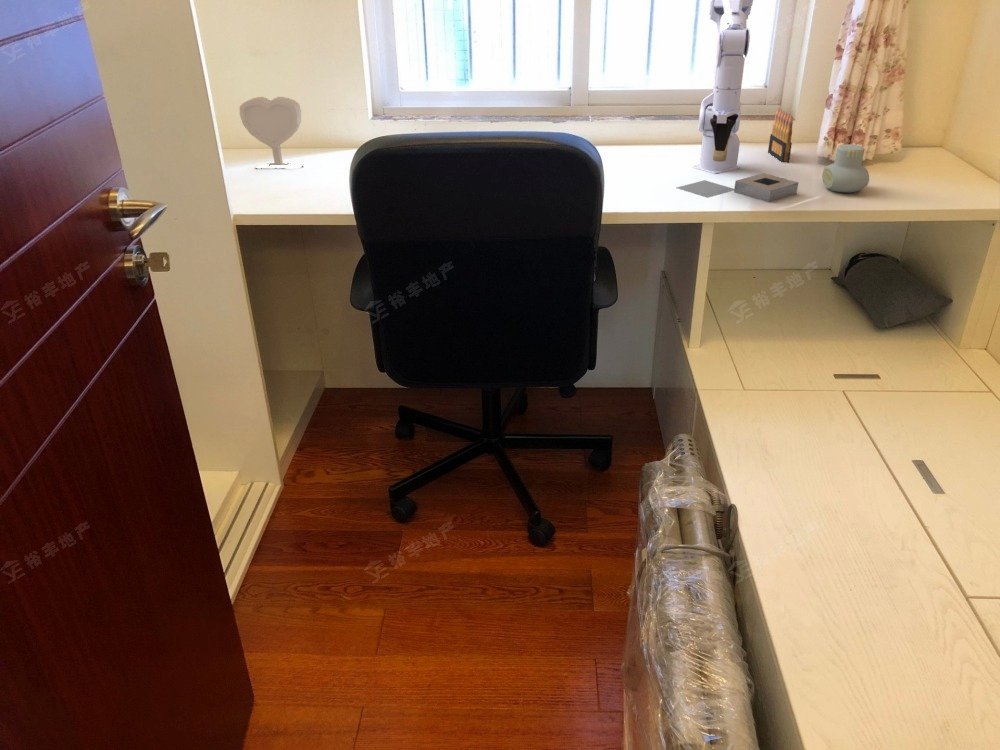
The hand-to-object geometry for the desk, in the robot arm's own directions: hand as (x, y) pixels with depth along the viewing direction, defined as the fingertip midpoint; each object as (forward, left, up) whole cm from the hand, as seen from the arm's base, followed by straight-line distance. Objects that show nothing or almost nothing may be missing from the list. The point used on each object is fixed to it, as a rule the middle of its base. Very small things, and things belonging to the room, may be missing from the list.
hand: (720, 148), depth 184 cm
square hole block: (-7, +9, -10) cm, 15 cm away
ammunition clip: (-36, -10, -10) cm, 38 cm away
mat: (+1, -2, -10) cm, 10 cm away
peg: (0, 0, -3) cm, 3 cm away
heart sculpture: (+74, -89, -10) cm, 116 cm away
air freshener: (-24, +18, -10) cm, 31 cm away
